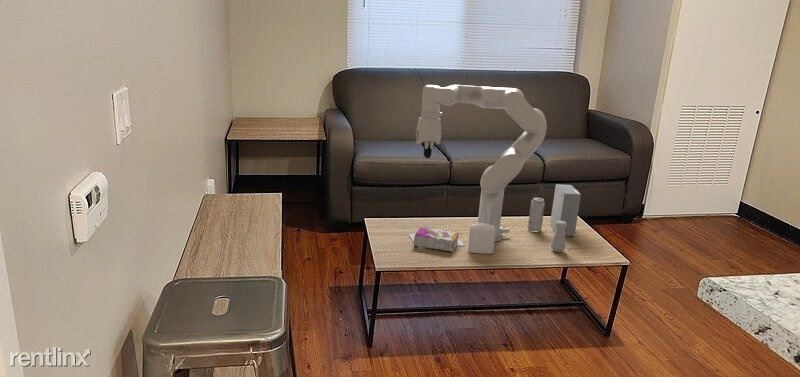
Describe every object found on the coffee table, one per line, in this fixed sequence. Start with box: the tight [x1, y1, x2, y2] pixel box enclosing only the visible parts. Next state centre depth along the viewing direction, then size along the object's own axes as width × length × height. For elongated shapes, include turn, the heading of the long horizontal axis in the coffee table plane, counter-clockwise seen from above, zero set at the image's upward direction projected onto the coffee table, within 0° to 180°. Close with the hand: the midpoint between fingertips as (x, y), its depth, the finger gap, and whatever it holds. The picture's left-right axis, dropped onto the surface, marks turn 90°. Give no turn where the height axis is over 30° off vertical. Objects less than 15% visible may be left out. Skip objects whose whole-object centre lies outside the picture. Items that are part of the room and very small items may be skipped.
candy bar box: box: [413, 226, 460, 253], centre depth 233 cm, size 11×5×16 cm
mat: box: [407, 233, 466, 250], centre depth 239 cm, size 20×15×1 cm
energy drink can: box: [527, 196, 546, 232], centre depth 255 cm, size 6×6×15 cm
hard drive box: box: [549, 183, 582, 237], centre depth 256 cm, size 16×8×20 cm, turn 179°
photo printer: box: [467, 222, 495, 255], centre depth 228 cm, size 10×4×12 cm, turn 87°
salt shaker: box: [550, 221, 567, 253], centre depth 234 cm, size 6×6×13 cm
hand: (427, 157), depth 243 cm, fingers closed
